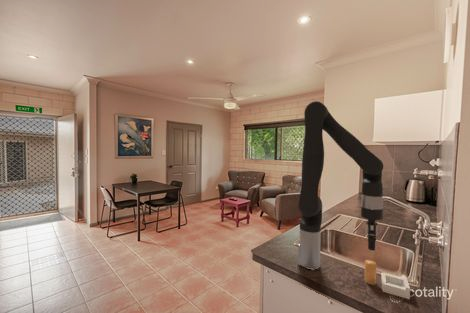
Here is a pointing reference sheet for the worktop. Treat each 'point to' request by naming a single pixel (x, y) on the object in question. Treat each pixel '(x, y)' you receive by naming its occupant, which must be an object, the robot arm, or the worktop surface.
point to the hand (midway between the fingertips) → (371, 245)
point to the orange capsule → (370, 272)
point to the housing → (395, 285)
